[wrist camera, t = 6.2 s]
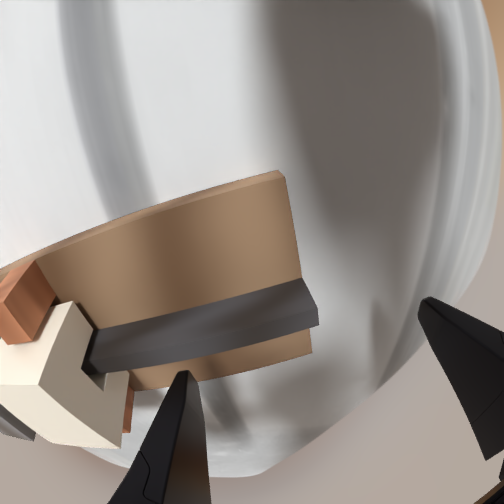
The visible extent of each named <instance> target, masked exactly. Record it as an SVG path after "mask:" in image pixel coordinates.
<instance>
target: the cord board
mask: <svg viewBox="0 0 504 504" xmlns="http://www.w3.org/2000/svg"><path fill="white" fill-rule="evenodd" d="M70 301H74V303H75V304H76V306H77V307H78V309H79V310H80V312H81V313H82V314H83V316H84V317H85V319H86V320H87V322H88V323H89V324H90V326H91V327H92V328H93V331H92V334H91V337H90V340H89V343H88V346H87V350H86V353H85V356H84V359H83V362H82V366H81V370H82V371H83V372H84V373H85V374H86V375H94V374H103V373H111V372H118V371H126V370H127V371H128V373H129V381H128V388H127V395H126V402H125V410H124V419H123V429H122V433H130V431H131V419H132V409H133V400H134V391H142V390H150V389H157V388H164V387H170V386H171V384H172V382H173V380H174V378H175V376H176V374H177V372H179V371H183V370H189V371H190V372H191V373H192V375H193V376H194V378H195V379H196V381H197V382H200V381H205V380H210V379H215V378H219V377H224V376H229V375H233V374H237V373H242V372H246V371H250V370H254V369H258V368H262V367H265V366H269V365H273V364H276V363H280V362H284V361H287V360H290V359H294V358H297V357H300V356H304V355H307V354H310V353H312V347H311V339H310V331H309V328H312V327H315V326H318V325H319V318H318V308H317V306H316V304H315V302H314V300H313V298H312V296H311V294H310V292H309V290H308V288H307V286H306V284H305V282H304V280H303V278H302V273H301V267H300V261H299V254H298V248H297V242H296V236H295V230H294V225H293V219H292V213H291V208H290V202H289V197H288V192H287V186H286V181H285V177H284V176H283V175H282V174H281V173H280V172H279V171H278V170H276V171H272V172H268V173H264V174H260V175H256V176H253V177H249V178H245V179H241V180H237V181H234V182H230V183H227V184H223V185H219V186H216V187H212V188H209V189H206V190H202V191H199V192H196V193H192V194H189V195H186V196H183V197H179V198H176V199H173V200H170V201H167V202H164V203H161V204H158V205H155V206H152V207H149V208H146V209H143V210H140V211H137V212H135V213H132V214H129V215H126V216H123V217H121V218H118V219H115V220H112V221H110V222H107V223H104V224H102V225H99V226H97V227H94V228H92V229H89V230H86V231H84V232H81V233H79V234H76V235H74V236H72V237H69V238H67V239H64V240H62V241H60V242H57V243H55V244H53V245H50V246H48V247H46V248H44V249H41V250H39V251H37V252H35V253H32V254H30V255H28V256H26V257H24V258H22V259H20V260H18V261H15V262H13V263H11V264H9V265H7V266H5V267H3V268H1V269H0V339H1V338H2V339H3V340H4V341H5V343H6V344H7V345H12V344H18V343H24V342H30V341H33V338H34V336H35V334H36V332H37V330H38V328H39V326H40V324H41V322H42V320H43V318H44V316H45V315H46V313H47V311H48V309H49V307H52V306H56V305H59V304H63V303H67V302H70ZM0 432H1V433H3V434H5V435H9V436H12V437H16V438H21V439H25V440H30V441H34V439H35V434H36V432H35V431H34V430H32V429H31V428H30V427H28V426H27V425H26V424H24V423H23V422H22V421H20V420H19V419H18V418H17V417H15V416H14V415H13V414H12V413H11V412H9V411H8V410H7V409H6V408H5V407H4V406H2V405H1V404H0Z"/></svg>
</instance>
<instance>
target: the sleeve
mask: <svg viewBox="0 0 504 504" xmlns="http://www.w3.org/2000/svg"><path fill="white" fill-rule="evenodd" d="M92 331H93V328H92V327H91V326H90V324H89V323H88V322H87V320H86V319H85V317H84V316H83V314H82V313H81V312H80V310H79V309H78V307H77V306H76V304H75V303H74V301H70V302H67V303H63V304H59V305H56V306H52V307H49V309H48V311H47V313H46V315H45V316H44V318H43V320H42V322H41V324H40V326H39V328H38V330H37V332H36V334H35V336H34V338H33V341H30V342H24V343H18V344H12V345H7V344H6V343H5V341H4V340H3V339H2V338H1V339H0V404H1V405H2V406H4V407H5V408H6V409H7V410H8V411H9V412H11V413H12V414H13V415H14V416H15V417H17V418H18V419H19V420H20V421H22V422H23V423H24V424H26V425H27V426H28V427H30V428H31V429H32V430H34V431H35V432H36V433H38V434H39V435H41V436H42V437H44V438H45V439H47V440H48V441H49V442H51V443H56V444H63V445H72V446H81V447H93V448H112V449H121V439H122V429H123V419H124V410H125V402H126V395H127V388H128V381H129V373H128V371H127V370H126V371H118V372H111V373H103V374H94V375H86V374H85V373H84V372H83V371H82V370H81V366H82V362H83V359H84V356H85V353H86V350H87V346H88V343H89V340H90V337H91V334H92Z"/></svg>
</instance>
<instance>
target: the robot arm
mask: <svg viewBox="0 0 504 504" xmlns="http://www.w3.org/2000/svg"><path fill="white" fill-rule="evenodd" d="M418 320H419V322H420V324H421V326H422V328H423V330H424V333H425V335H426V337H427V339H428V341H429V344H430V346H431V348H432V350H433V352H434V353H435V355H436V357H437V359H438V361H439V362H440V364H441V366H442V368H443V370H444V372H445V373H446V375H447V377H448V379H449V381H450V383H451V385H452V387H453V389H454V391H455V392H456V395H457V397H458V399H459V400H460V403H461V405H462V407H463V409H464V411H465V413H466V415H467V418H468V420H469V422H470V424H471V427H472V429H473V431H474V434H475V436H476V439H477V441H478V443H479V446H480V448H481V451H482V453H483V456H484V458H485V460H488V459H490V458H491V457H493V456H494V455H496V454H498V453H499V452H501V451H502V450H504V332H502V331H500V330H498V329H496V328H494V327H492V326H490V325H488V324H486V323H484V322H482V321H480V320H478V319H476V318H474V317H472V316H470V315H468V314H466V313H464V312H462V311H460V310H458V309H456V308H454V307H452V306H450V305H448V304H446V303H444V302H442V301H439V300H437V299H435V298H433V297H427V298H424V299H422V300H421V303H420V307H419V311H418ZM499 479H500V481H501V482H500V483H499V484H497V485H496V486H495V487H494V488H493V489H491V490H490V491H489V492H488V493H487V494H485V495H484V496H483V497H482V498H480V499H479V500H478V501H476V502H475V503H474V504H504V460H503V464H502V468H501V472H500V475H499ZM107 504H211V495H210V485H209V474H208V462H207V448H206V433H205V421H204V415H203V410H202V404H201V398H200V392H199V386H198V383H197V381H196V379H195V378H194V376H193V375H192V373H191V372H190V371H189V370H183V371H179V372H177V374H176V376H175V378H174V380H173V382H172V384H171V386H170V388H169V390H168V392H167V394H166V396H165V398H164V400H163V402H162V404H161V406H160V408H159V410H158V412H157V414H156V416H155V418H154V420H153V422H152V425H151V427H150V429H149V431H148V433H147V435H146V437H145V439H144V441H143V443H142V445H141V447H140V450H139V451H138V453H137V455H136V457H135V459H134V461H133V463H132V465H131V467H130V469H129V471H128V473H127V475H126V476H125V478H124V479H123V481H122V482H121V484H120V485H119V487H118V488H117V490H116V492H115V493H114V495H113V496H112V498H111V499H110V501H109V502H108V503H107Z"/></svg>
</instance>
